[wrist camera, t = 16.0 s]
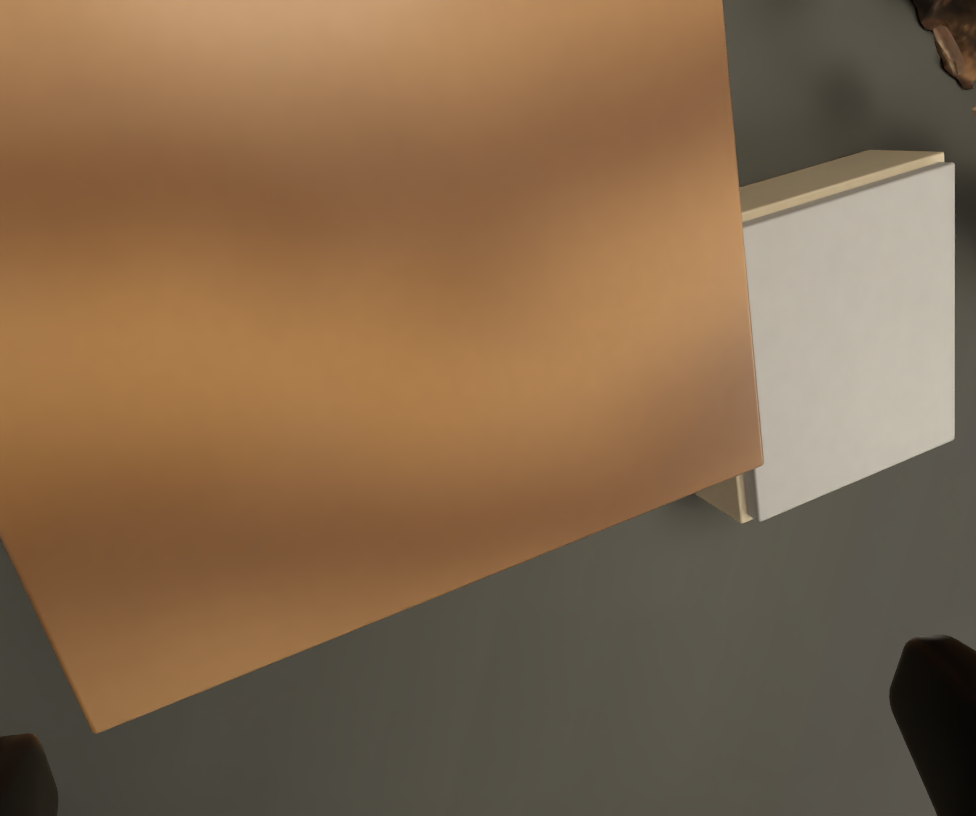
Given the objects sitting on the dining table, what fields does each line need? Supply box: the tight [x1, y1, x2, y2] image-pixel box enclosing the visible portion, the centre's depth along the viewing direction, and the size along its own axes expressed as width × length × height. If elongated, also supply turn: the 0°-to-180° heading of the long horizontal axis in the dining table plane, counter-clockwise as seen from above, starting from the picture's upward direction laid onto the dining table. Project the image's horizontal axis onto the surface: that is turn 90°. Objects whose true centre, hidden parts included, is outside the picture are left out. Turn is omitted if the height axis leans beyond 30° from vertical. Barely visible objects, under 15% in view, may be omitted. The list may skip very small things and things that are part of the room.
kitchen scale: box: [694, 150, 955, 523], centre depth 23 cm, size 7×8×3 cm
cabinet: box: [0, 0, 764, 733], centre depth 15 cm, size 14×12×7 cm
